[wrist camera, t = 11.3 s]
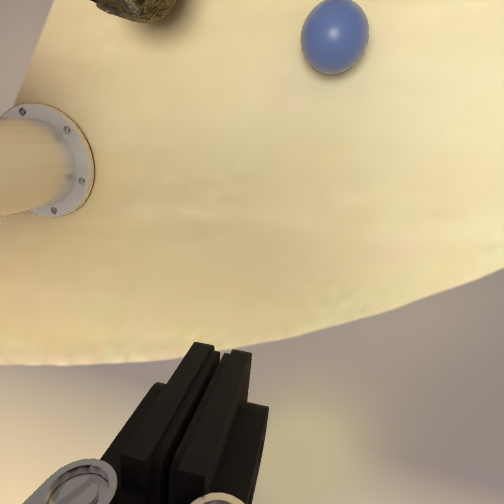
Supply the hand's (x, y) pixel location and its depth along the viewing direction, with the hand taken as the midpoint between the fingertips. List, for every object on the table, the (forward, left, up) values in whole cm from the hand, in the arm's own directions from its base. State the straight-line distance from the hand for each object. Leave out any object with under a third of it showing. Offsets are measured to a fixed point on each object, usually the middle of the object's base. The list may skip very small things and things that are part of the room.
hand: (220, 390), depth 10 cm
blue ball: (+11, +10, -26) cm, 30 cm away
